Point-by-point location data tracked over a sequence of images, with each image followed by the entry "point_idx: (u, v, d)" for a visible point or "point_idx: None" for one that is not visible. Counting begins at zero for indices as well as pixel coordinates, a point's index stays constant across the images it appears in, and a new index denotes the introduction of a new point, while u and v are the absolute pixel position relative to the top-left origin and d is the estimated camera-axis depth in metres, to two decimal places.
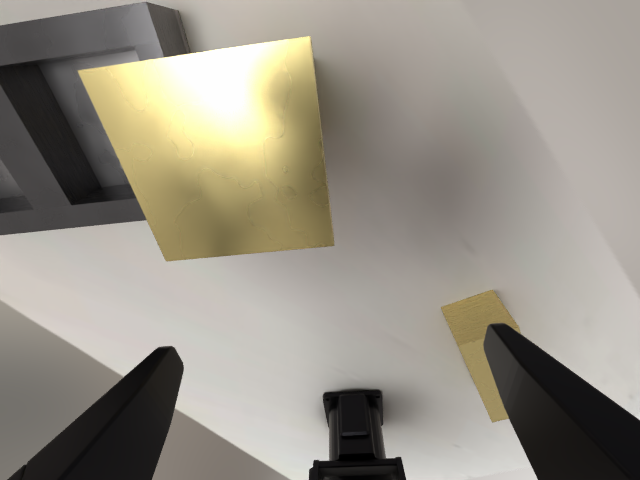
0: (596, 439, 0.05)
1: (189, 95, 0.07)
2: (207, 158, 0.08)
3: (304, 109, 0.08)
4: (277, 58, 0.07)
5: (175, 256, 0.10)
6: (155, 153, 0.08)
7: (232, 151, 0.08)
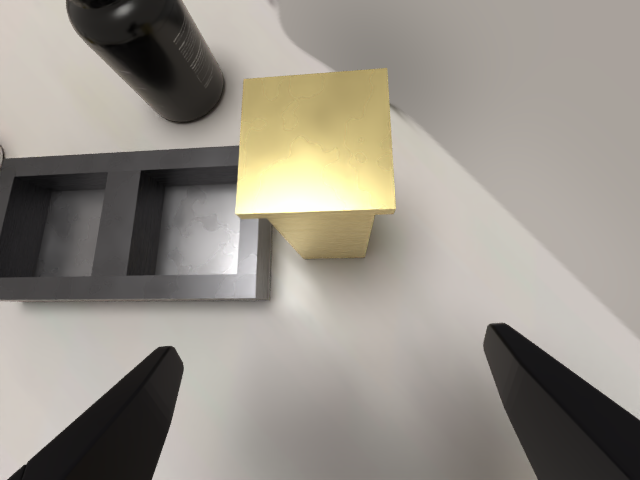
0: (596, 439, 0.05)
1: (305, 93, 0.12)
2: (304, 130, 0.11)
3: (379, 103, 0.11)
4: (366, 77, 0.12)
5: (246, 210, 0.11)
6: (268, 125, 0.11)
7: (323, 126, 0.11)
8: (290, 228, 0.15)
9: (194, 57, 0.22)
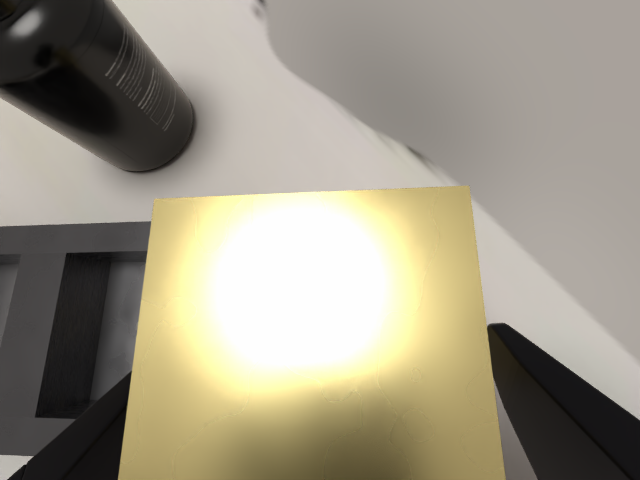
0: (596, 439, 0.05)
1: (285, 240, 0.05)
2: (280, 335, 0.05)
3: (457, 275, 0.05)
4: (421, 206, 0.05)
5: None
6: (200, 316, 0.05)
7: (326, 329, 0.05)
8: None
9: (143, 93, 0.16)
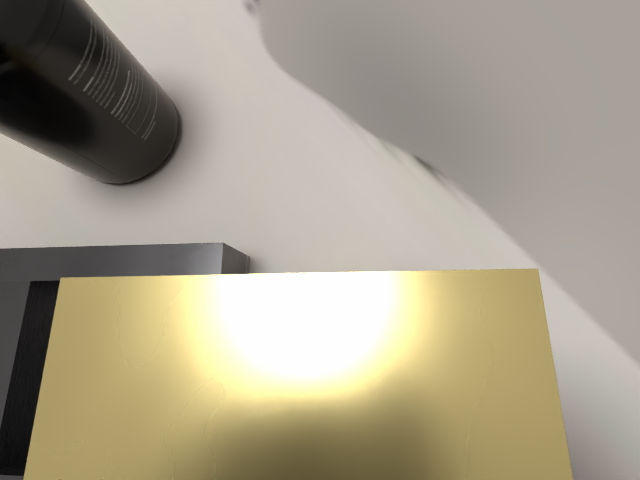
0: None
1: (250, 350, 0.03)
2: None
3: (525, 423, 0.03)
4: (463, 301, 0.03)
5: None
6: (115, 476, 0.03)
7: None
8: None
9: (117, 99, 0.14)
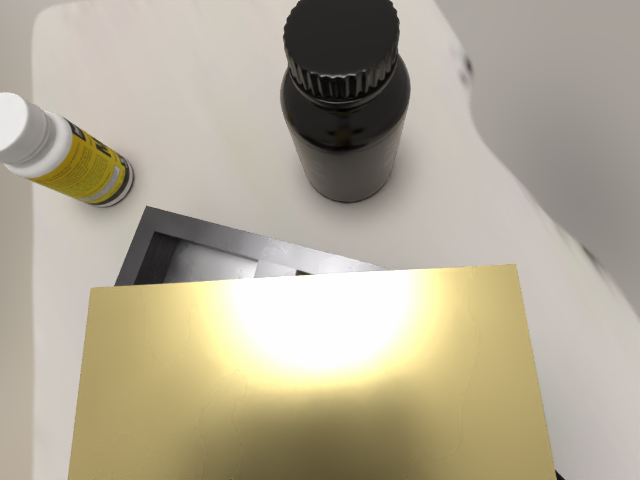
0: None
1: (267, 345, 0.04)
2: None
3: (508, 396, 0.03)
4: (452, 294, 0.04)
5: None
6: (153, 461, 0.04)
7: None
8: None
9: (391, 156, 0.19)
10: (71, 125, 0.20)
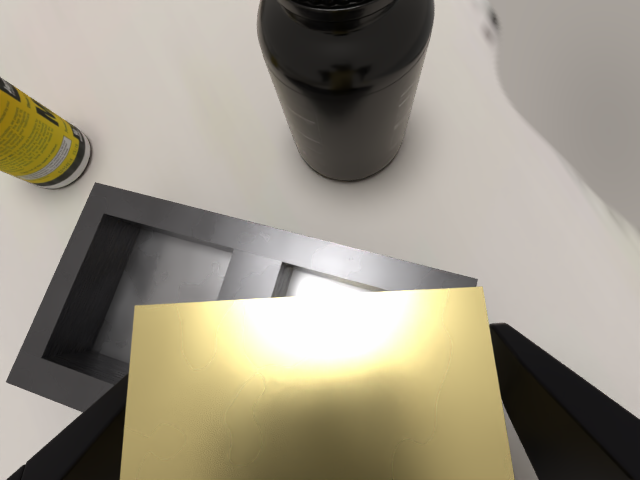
0: (597, 439, 0.05)
1: (281, 353, 0.05)
2: (281, 469, 0.04)
3: (474, 394, 0.04)
4: (431, 311, 0.05)
5: None
6: (190, 447, 0.05)
7: (332, 461, 0.04)
8: None
9: (404, 115, 0.14)
10: None
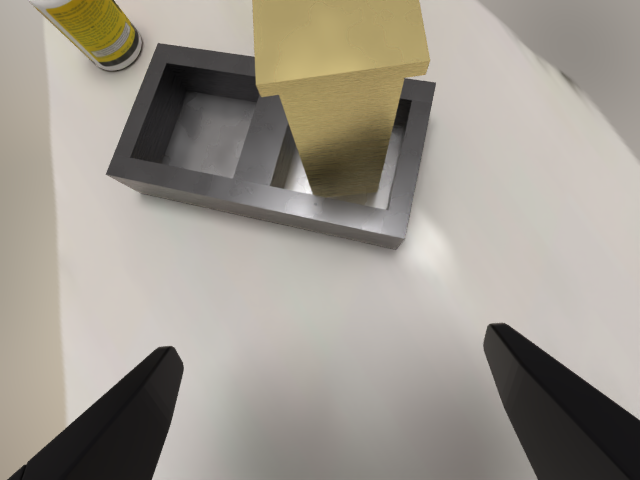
0: (596, 439, 0.05)
1: None
2: None
3: None
4: None
5: (267, 80, 0.10)
6: None
7: None
8: (307, 132, 0.14)
9: None
10: None
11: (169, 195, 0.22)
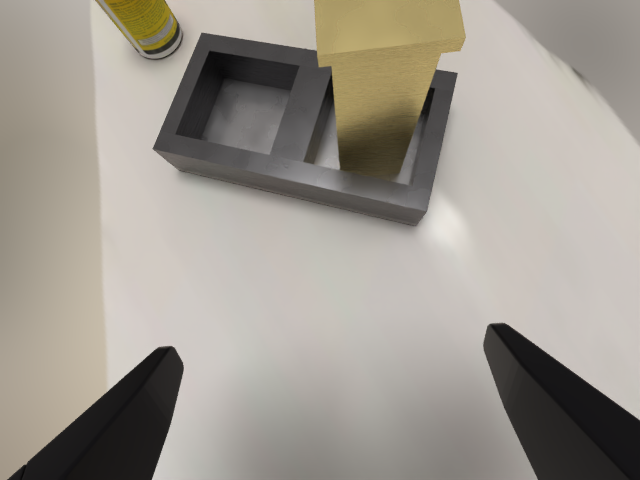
0: (596, 439, 0.05)
1: None
2: None
3: None
4: None
5: (326, 51, 0.12)
6: None
7: None
8: (348, 106, 0.16)
9: None
10: None
11: (207, 171, 0.24)
